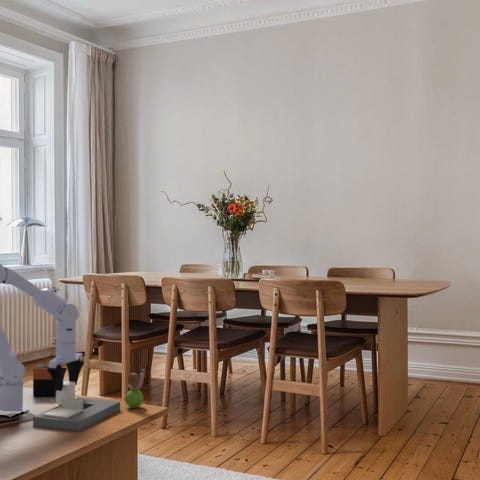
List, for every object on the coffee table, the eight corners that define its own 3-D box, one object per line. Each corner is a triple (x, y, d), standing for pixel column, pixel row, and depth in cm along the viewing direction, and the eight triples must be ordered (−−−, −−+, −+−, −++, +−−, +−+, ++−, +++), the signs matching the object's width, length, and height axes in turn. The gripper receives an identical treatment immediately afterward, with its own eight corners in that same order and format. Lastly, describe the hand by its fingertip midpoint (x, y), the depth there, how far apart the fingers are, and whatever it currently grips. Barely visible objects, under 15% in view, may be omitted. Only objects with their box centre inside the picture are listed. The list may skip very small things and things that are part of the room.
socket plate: (33, 425, 171) (33, 416, 171) (78, 405, 191) (78, 397, 191) (77, 431, 166) (78, 421, 166) (119, 410, 187) (120, 401, 187)
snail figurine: (137, 411, 186) (138, 370, 186) (121, 408, 189) (121, 368, 189) (149, 407, 190) (150, 367, 190) (133, 404, 194) (133, 365, 194)
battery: (54, 397, 202) (54, 365, 202) (32, 397, 201) (32, 365, 201) (57, 393, 206) (57, 363, 206) (36, 393, 206) (36, 363, 206)
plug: (55, 406, 191) (56, 383, 191) (63, 403, 194) (63, 381, 194) (67, 407, 189) (67, 384, 189) (75, 404, 193) (75, 382, 193)
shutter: (42, 415, 171) (43, 405, 171) (61, 407, 179) (61, 397, 179) (67, 418, 169) (67, 407, 169) (85, 410, 177) (85, 400, 177)
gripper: (63, 347, 184) (63, 394, 184) (90, 339, 197) (90, 383, 197) (42, 345, 186) (42, 392, 186) (71, 338, 200) (71, 381, 200)
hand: (66, 387), depth 192 cm, fingers open, 7 cm apart
